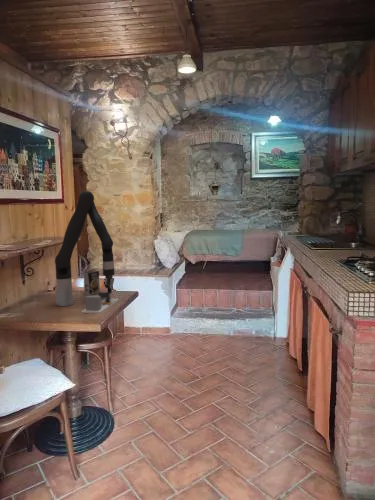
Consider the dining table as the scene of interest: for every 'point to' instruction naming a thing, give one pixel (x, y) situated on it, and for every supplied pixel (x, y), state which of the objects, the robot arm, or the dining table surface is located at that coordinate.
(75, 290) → the dining table surface
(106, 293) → the tall dark grey box
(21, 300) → the dining table surface
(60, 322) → the dining table surface
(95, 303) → the gauge base
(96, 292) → the coffee box
